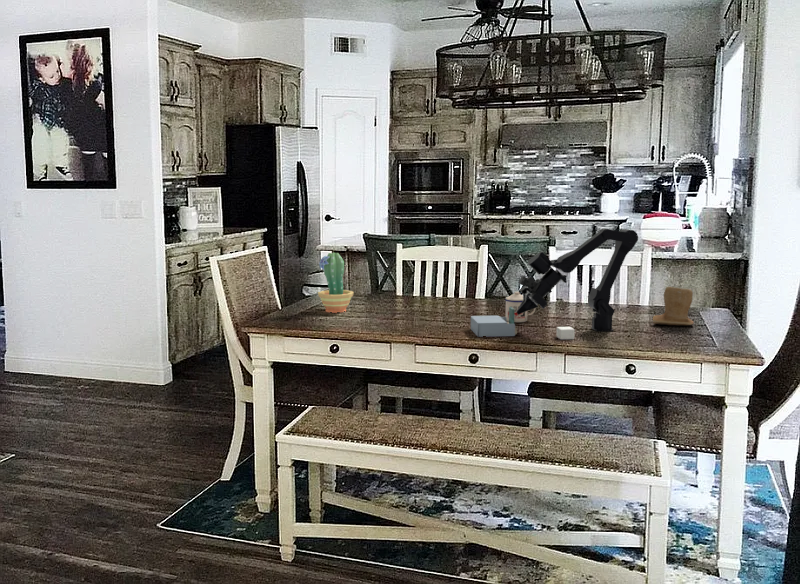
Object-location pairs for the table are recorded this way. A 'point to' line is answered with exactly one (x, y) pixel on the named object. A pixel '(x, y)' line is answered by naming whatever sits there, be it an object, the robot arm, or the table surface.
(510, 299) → the teacup with lid
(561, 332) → the pedestal
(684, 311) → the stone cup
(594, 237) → the robot arm
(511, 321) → the tray
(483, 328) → the housing
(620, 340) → the table surface
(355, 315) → the table surface
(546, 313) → the table surface
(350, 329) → the table surface
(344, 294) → the potted cactus
